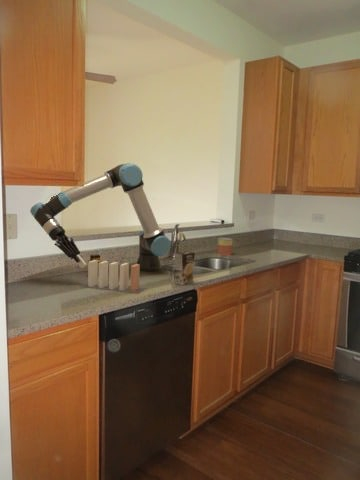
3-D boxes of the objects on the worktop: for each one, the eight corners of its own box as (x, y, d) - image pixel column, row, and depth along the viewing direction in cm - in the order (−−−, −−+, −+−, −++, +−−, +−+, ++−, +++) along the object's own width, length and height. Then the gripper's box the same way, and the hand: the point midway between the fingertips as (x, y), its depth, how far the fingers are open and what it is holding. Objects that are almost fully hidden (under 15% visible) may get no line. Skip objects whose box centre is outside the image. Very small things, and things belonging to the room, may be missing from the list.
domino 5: (130, 291, 183) (130, 266, 181) (135, 288, 189) (136, 263, 187) (133, 292, 183) (134, 266, 181) (139, 289, 188) (139, 264, 187)
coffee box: (182, 285, 200) (183, 254, 198) (173, 283, 204) (174, 252, 202) (193, 282, 207) (194, 252, 205) (184, 280, 211) (185, 250, 209)
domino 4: (119, 290, 185) (119, 265, 183) (124, 287, 190) (125, 262, 189) (122, 290, 184) (123, 265, 183) (128, 287, 190) (128, 263, 188)
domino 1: (88, 286, 189) (88, 261, 188) (94, 283, 195) (94, 259, 194) (91, 287, 189) (91, 262, 187) (97, 284, 195) (97, 260, 193)
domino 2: (98, 287, 188) (98, 263, 186) (104, 285, 194) (104, 260, 192) (101, 288, 187) (101, 263, 186) (107, 285, 193) (108, 261, 191)
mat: (91, 283, 199) (91, 281, 199) (147, 289, 190) (147, 288, 190) (80, 288, 189) (80, 286, 188) (138, 295, 180) (138, 294, 180)
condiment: (101, 278, 209) (101, 256, 208) (85, 278, 208) (85, 256, 206) (101, 275, 217) (101, 253, 215) (85, 275, 215) (85, 253, 213)
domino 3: (108, 289, 186) (109, 264, 185) (114, 286, 192) (114, 261, 190) (112, 289, 186) (112, 264, 184) (117, 286, 191) (118, 262, 190)
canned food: (233, 254, 303) (234, 238, 302) (230, 256, 293) (231, 240, 291) (218, 252, 307) (219, 237, 305) (215, 255, 296) (216, 239, 295)
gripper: (50, 226, 188) (81, 263, 185) (66, 224, 200) (95, 259, 197) (41, 236, 190) (72, 273, 187) (57, 233, 202) (86, 268, 200)
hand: (84, 266), depth 192 cm, fingers closed
